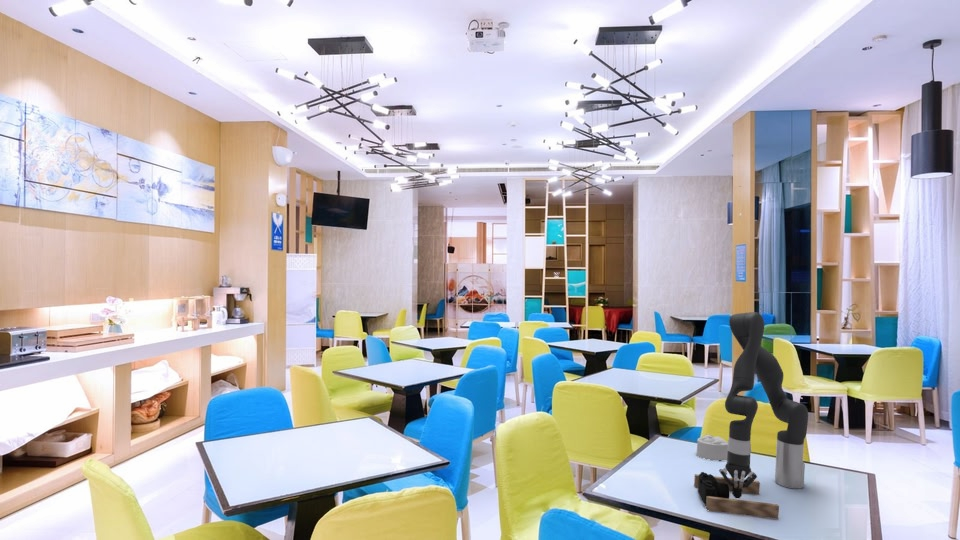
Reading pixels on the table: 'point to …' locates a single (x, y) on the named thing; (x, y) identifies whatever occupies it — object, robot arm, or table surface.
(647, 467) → the table surface
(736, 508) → the walnut chute
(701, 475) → the film camera
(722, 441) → the lumpy-topped squat cylinder
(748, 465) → the robot arm
